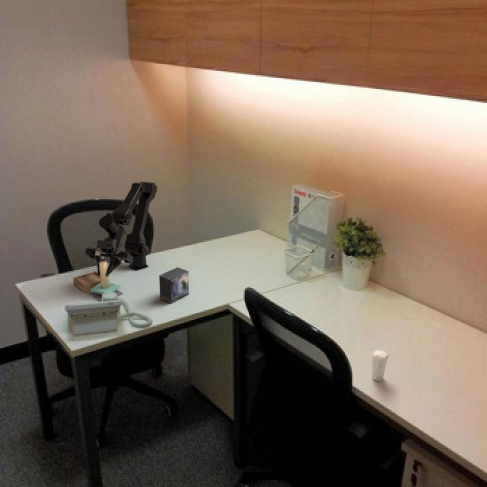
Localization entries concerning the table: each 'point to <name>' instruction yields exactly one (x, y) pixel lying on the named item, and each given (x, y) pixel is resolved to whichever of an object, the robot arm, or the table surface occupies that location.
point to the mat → (99, 296)
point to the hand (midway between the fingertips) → (102, 275)
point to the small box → (174, 285)
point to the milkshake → (379, 365)
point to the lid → (104, 280)
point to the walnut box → (87, 281)
